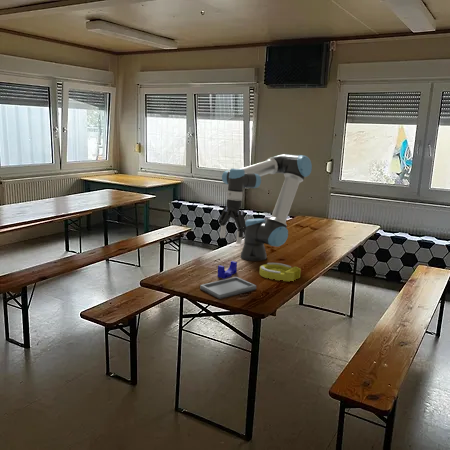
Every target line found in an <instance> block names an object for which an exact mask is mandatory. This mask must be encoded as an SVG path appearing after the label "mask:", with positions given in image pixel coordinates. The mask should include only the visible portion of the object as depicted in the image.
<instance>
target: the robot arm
mask: <svg viewBox="0 0 450 450" xmlns="http://www.w3.org/2000/svg"><path fill="white" fill-rule="evenodd" d="M312 167H313V165H312V161H311V159H310V157H308V156H307V155H303V154H294V153H293V154H291V153H290V154H289V153H282V154H278V155H275V156H271V157H267V159H266V160H265V161H260V162H258V163H254V164H251V165H248V166H244V167H241V168H230V169H229V170H225V171H223V172H222V174H221V180H222V182H223V183H224V184H225V185H228V187H227V196H226V197H227V199H226V206H224V207H222V212H221V215H220V217H219V219H218V221H217V222H218V224H219V225H220V230H219V231H220V233H219V238H220V239H225V238H226V230H227V223H228V221H229V220H230V219H231V218H232V219H233V220H234V221H235V224H236V226H237V228H238V230H237V232H236V242H235V243H236V244H237V245H238V244H240V245H241V244H242V239H243V236H244V241H243V243H244V244H243V247H242V251H241V252H240V258H241V259H242V260H245V261H251V262H260V261H261V262H262V261H265V260H266V259H267V252H266V247H265V244H266V245H269V246H271V247H281V246H283V245H284V244H285V243H286V241H287V239H288V237H289V230H288V229H287V228H288V225H287V219H288V216H289V213H290V210H291V209H292V204H293V202H294V200H295V197H296V194H297V191H298V188H299V185H300V183H302V182H304V179H305V178H307V177H309V176H310V175H311V173H312ZM269 174H270V175H275V174H283V177H284V180H283V184H282V186H281V189H280V192H279V195H278V198H277V200H276V202H275V206H274V208H273V211H272V213H271V216H270V217H268V218H267V219H265V218H250V219H249V218H248V219H246V220H245V211H244V210H240V209H241V208H242V203H243V202H242V200H243V192H244V189H257V188H259V187H260V186H261V183H262V177H263V176H266V175H269Z"/></svg>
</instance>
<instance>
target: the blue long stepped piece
mask: <svg viewBox="0 0 450 450" xmlns="http://www.w3.org/2000/svg"><path fill="white" fill-rule="evenodd" d="M237 272H238V262H237V261H234V260H231V261H230V265H229V267H228V269H227V270H225V266H224V265H220V264H219V265H217V278H220V279H222V280H224V279H228V278H231V277H232V275H234V274H236V273H237Z"/></svg>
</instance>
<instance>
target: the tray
mask: <svg viewBox="0 0 450 450" xmlns="http://www.w3.org/2000/svg"><path fill="white" fill-rule="evenodd" d="M199 288H200V290H201V291H204V292H205V293H207V294H209V295H211V296H212V297H215V298H217V299H219V300H221V299H225V298H228V297H229V298H230V297H232V296H236V295H237V296H238V295H240V294H244V293H248V292H252V291H256V290H257V285H256V284H254V283H253V282H249V281H247V280H245V279H244V278H241V277H238V276H233V277H228V278H225V279H221V280H215V281H211V282H208V283H203V284H200V287H199Z"/></svg>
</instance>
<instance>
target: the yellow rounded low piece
mask: <svg viewBox="0 0 450 450" xmlns="http://www.w3.org/2000/svg"><path fill="white" fill-rule="evenodd" d="M301 271H302V269H301V268H300V267H298V266H293V267H292V266H291V265H290V264H284V263H281V262H267V263H265V264H262V265H260V266H259V275H260V276H261V277H263V278H265V279H268V278H269V279H270V280H273V279H275V280H274V281H280V280H283V281H282V282H290V281H293V282H295V281H297V280H298V279H300V278H301ZM296 279H297V280H296ZM294 280H295V281H294Z"/></svg>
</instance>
